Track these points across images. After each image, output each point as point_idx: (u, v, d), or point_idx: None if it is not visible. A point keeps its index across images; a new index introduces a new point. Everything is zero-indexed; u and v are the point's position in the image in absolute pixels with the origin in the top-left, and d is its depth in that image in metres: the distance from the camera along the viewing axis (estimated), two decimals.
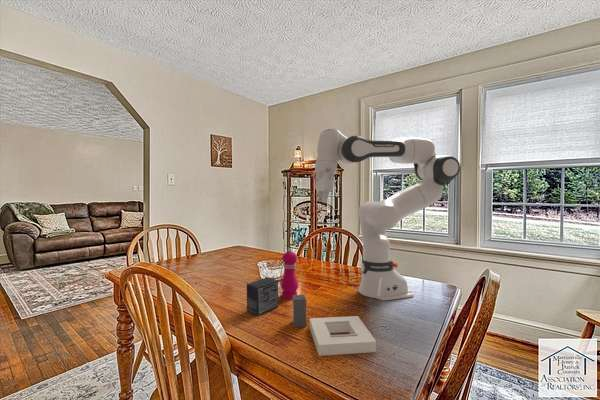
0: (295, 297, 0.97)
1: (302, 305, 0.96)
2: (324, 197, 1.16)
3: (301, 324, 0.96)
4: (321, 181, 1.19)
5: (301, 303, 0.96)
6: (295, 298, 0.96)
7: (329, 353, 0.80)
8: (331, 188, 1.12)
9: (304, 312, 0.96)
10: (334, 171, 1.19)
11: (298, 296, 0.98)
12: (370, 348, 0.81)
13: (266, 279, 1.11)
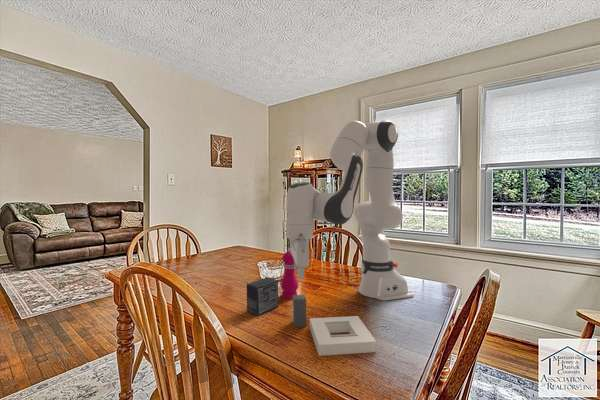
0: (295, 297, 0.97)
1: (302, 305, 0.96)
2: (299, 272, 0.91)
3: (301, 324, 0.96)
4: (294, 250, 0.94)
5: (301, 303, 0.96)
6: (295, 298, 0.96)
7: (329, 353, 0.80)
8: (306, 263, 0.87)
9: (304, 312, 0.96)
10: (309, 236, 0.94)
11: (298, 296, 0.98)
12: (370, 348, 0.81)
13: (266, 279, 1.11)
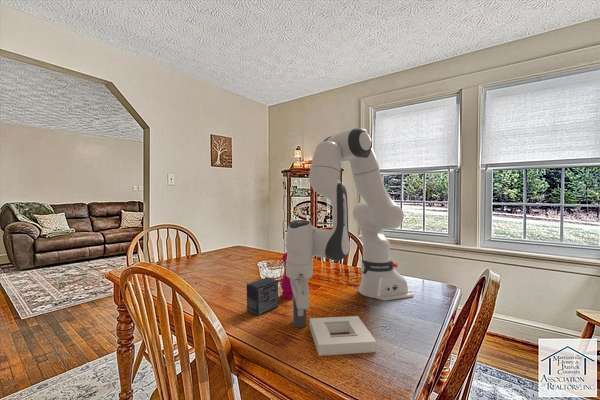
0: None
1: None
2: (299, 309, 0.94)
3: (301, 324, 0.96)
4: (294, 289, 0.94)
5: None
6: None
7: (329, 353, 0.80)
8: (306, 305, 0.88)
9: (304, 312, 0.96)
10: (309, 275, 0.94)
11: None
12: (370, 348, 0.81)
13: (266, 279, 1.11)
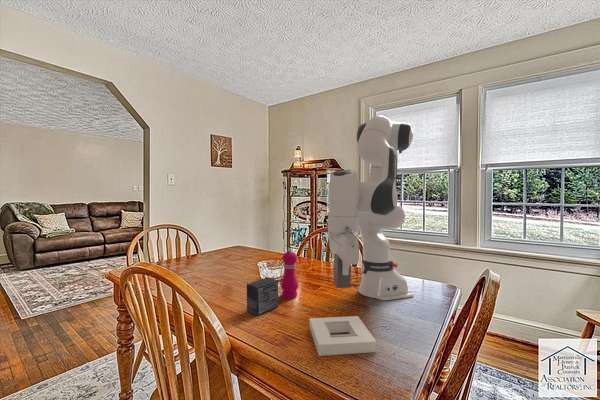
0: None
1: None
2: (344, 267, 0.83)
3: (345, 285, 0.86)
4: (339, 245, 0.84)
5: None
6: None
7: (329, 353, 0.80)
8: (356, 259, 0.77)
9: (349, 271, 0.86)
10: (356, 229, 0.84)
11: None
12: (370, 348, 0.81)
13: (266, 279, 1.11)
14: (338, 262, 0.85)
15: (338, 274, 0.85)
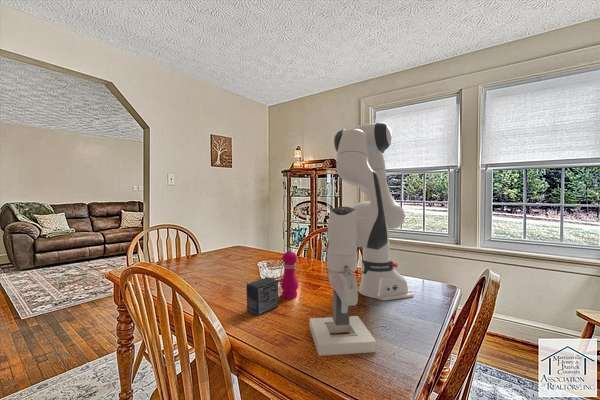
0: None
1: None
2: (343, 306, 0.84)
3: (344, 322, 0.86)
4: (338, 283, 0.85)
5: None
6: None
7: (329, 353, 0.80)
8: (355, 301, 0.78)
9: None
10: (355, 267, 0.85)
11: None
12: (370, 348, 0.81)
13: (266, 279, 1.11)
14: (337, 300, 0.86)
15: (337, 311, 0.86)
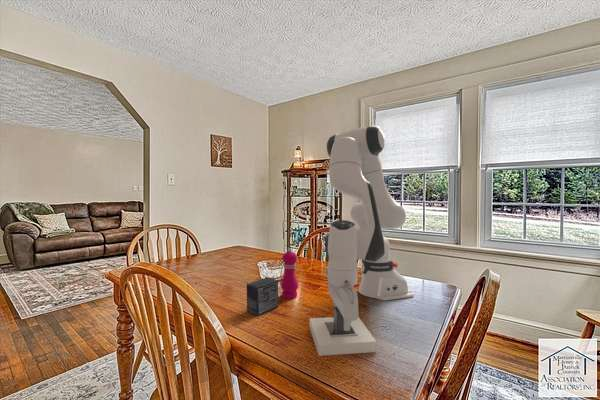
0: (337, 309, 0.88)
1: None
2: (346, 323, 0.82)
3: None
4: (338, 298, 0.85)
5: None
6: (338, 310, 0.87)
7: (329, 353, 0.80)
8: (355, 316, 0.78)
9: None
10: (355, 282, 0.85)
11: None
12: (370, 348, 0.81)
13: (266, 279, 1.11)
14: (337, 317, 0.86)
15: (337, 329, 0.86)
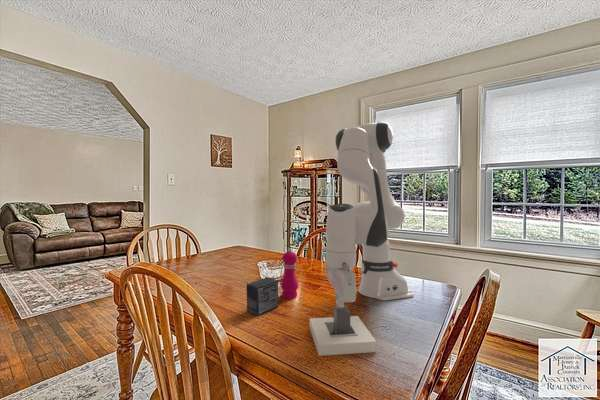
0: (337, 309, 0.88)
1: (345, 318, 0.86)
2: (340, 300, 0.86)
3: None
4: (336, 280, 0.84)
5: (345, 316, 0.86)
6: (338, 310, 0.87)
7: (329, 353, 0.80)
8: (353, 298, 0.78)
9: (348, 326, 0.86)
10: (353, 264, 0.84)
11: (341, 308, 0.88)
12: (370, 348, 0.81)
13: (266, 279, 1.11)
14: (337, 317, 0.86)
15: (337, 329, 0.86)
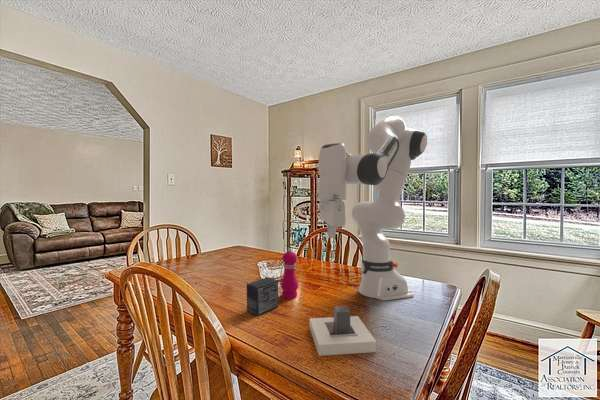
0: (337, 309, 0.88)
1: (345, 318, 0.86)
2: (331, 231, 0.93)
3: None
4: (328, 211, 0.91)
5: (345, 316, 0.86)
6: (338, 310, 0.87)
7: (329, 353, 0.80)
8: (343, 222, 0.85)
9: (348, 326, 0.86)
10: (343, 197, 0.91)
11: (341, 308, 0.88)
12: (370, 348, 0.81)
13: (266, 279, 1.11)
14: (337, 317, 0.86)
15: (337, 329, 0.86)
